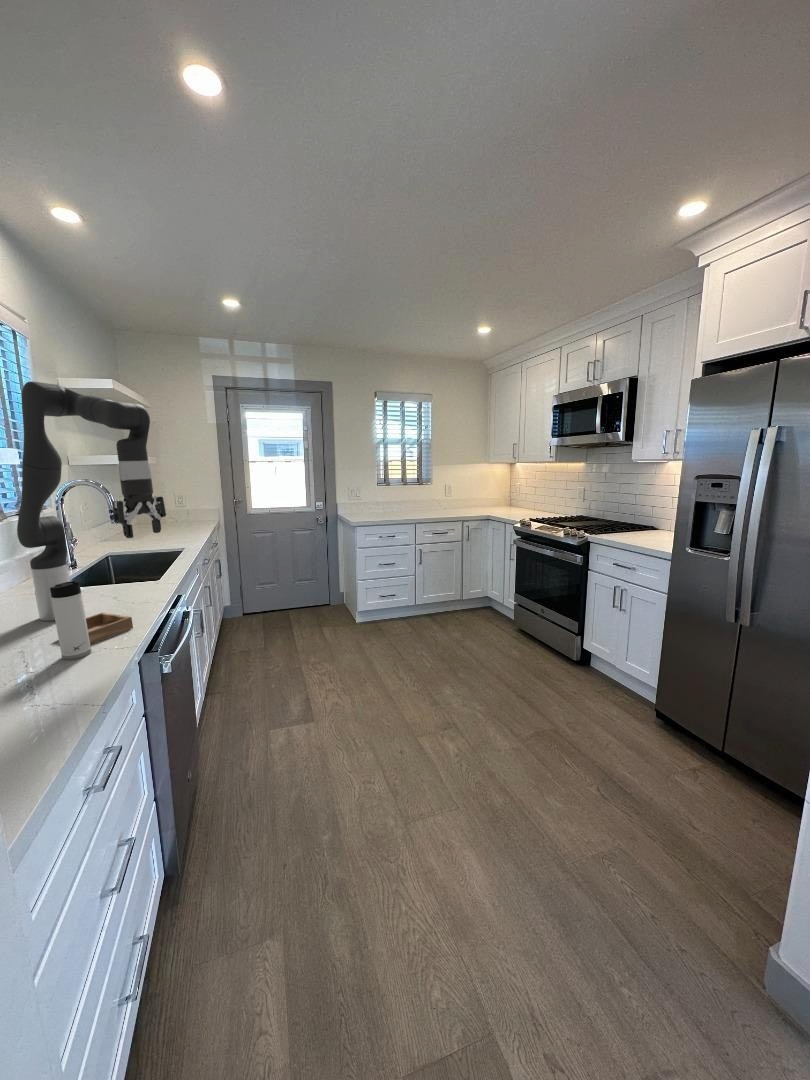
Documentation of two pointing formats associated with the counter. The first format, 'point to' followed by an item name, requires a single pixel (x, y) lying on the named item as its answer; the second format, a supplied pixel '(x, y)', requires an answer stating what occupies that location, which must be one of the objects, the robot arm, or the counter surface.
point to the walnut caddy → (106, 626)
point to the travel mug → (70, 620)
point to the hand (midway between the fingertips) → (143, 535)
